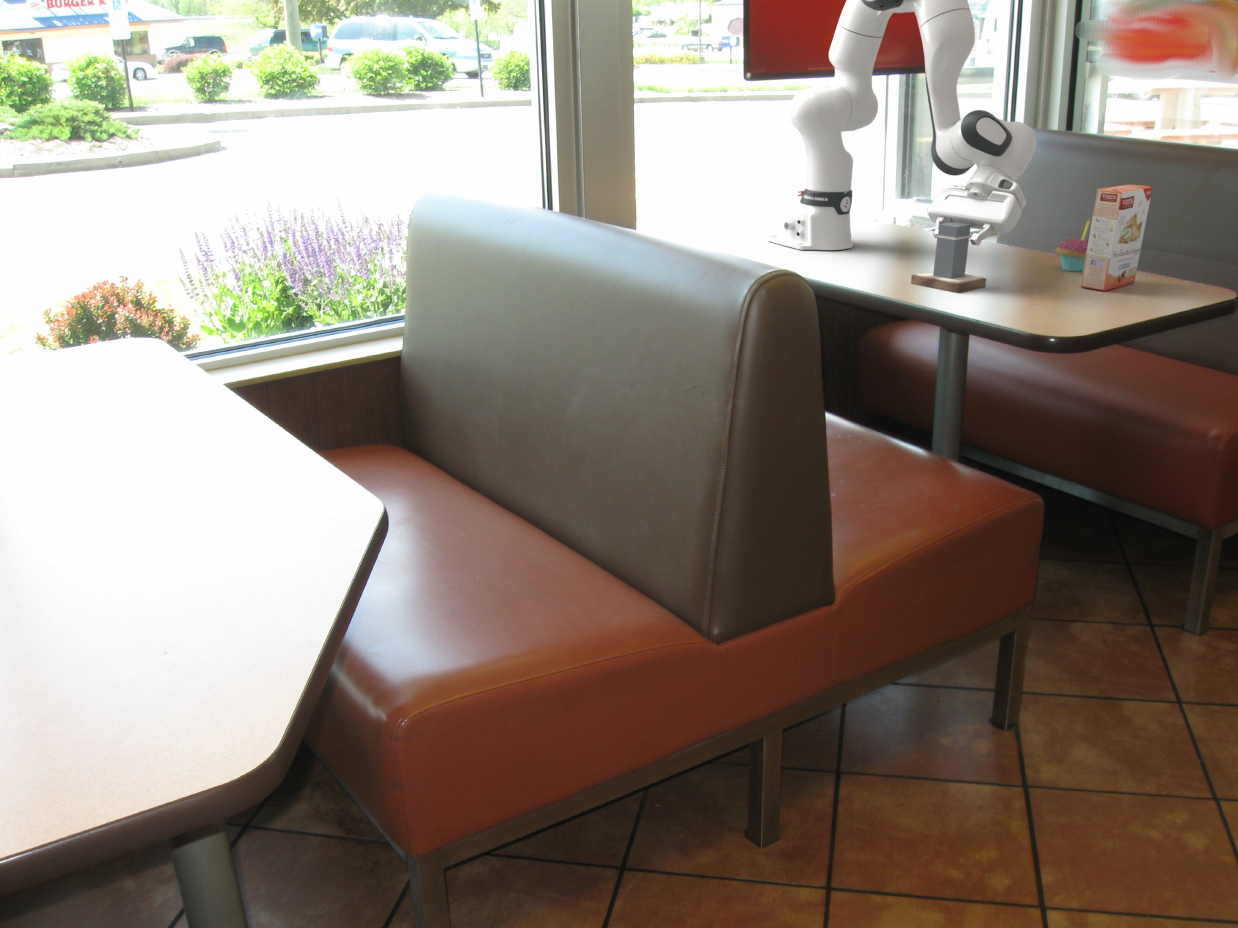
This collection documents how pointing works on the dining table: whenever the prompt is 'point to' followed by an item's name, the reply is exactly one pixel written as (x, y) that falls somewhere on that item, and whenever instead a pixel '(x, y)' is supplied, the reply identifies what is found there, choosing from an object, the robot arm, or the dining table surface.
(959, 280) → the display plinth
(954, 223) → the grey upright pillar block
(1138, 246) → the cracker box
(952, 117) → the robot arm
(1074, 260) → the cupcake
